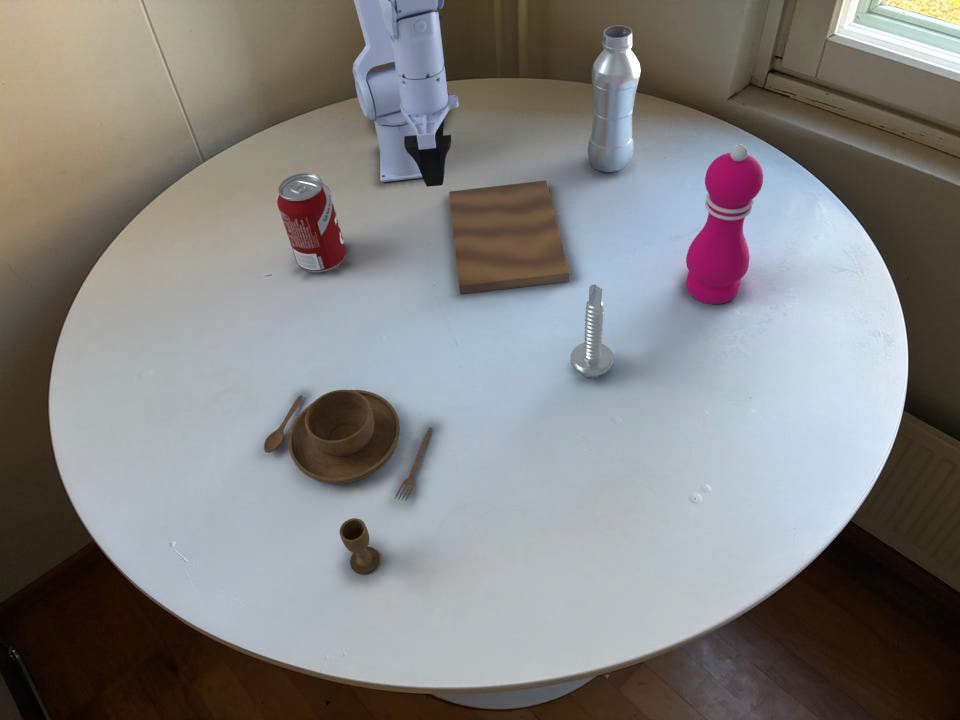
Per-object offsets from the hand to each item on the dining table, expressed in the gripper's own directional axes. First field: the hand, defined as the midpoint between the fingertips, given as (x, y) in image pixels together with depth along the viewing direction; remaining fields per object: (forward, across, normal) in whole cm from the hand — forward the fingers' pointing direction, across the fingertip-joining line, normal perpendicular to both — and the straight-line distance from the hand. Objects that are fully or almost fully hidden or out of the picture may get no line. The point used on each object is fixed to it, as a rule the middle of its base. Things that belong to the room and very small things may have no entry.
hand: (434, 167), depth 99 cm
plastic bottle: (+10, +11, -25) cm, 29 cm away
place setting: (+10, -40, +12) cm, 43 cm away
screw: (+10, -29, -16) cm, 35 cm away
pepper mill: (+10, -17, -33) cm, 39 cm away
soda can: (+10, -5, +16) cm, 20 cm away
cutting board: (+10, -4, -8) cm, 13 cm away
